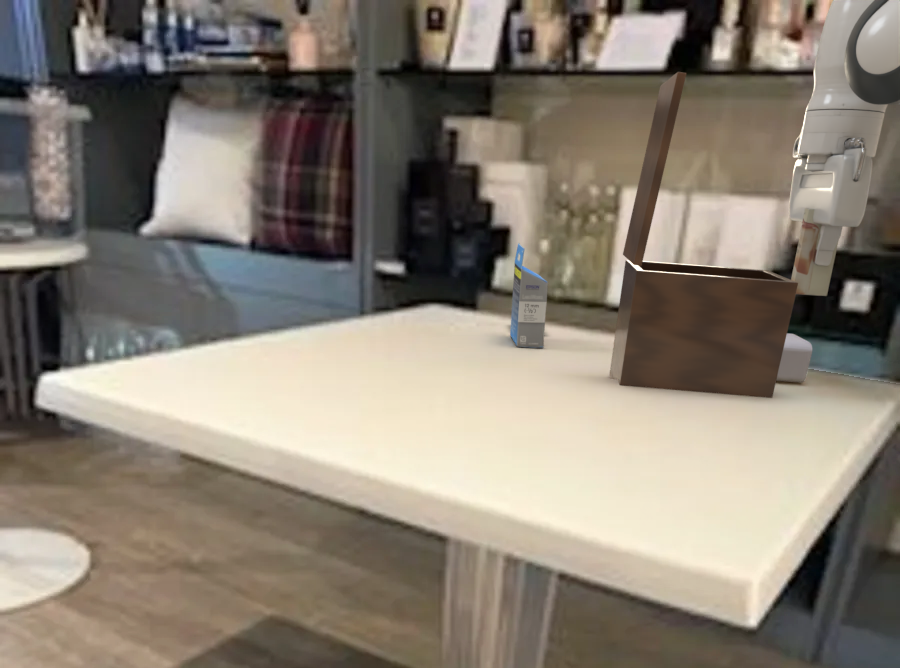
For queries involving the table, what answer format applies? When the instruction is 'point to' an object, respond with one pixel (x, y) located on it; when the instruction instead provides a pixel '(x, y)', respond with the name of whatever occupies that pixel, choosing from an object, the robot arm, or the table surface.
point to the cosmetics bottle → (811, 260)
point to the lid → (653, 167)
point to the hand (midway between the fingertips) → (813, 263)
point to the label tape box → (528, 305)
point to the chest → (701, 328)
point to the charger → (794, 359)
